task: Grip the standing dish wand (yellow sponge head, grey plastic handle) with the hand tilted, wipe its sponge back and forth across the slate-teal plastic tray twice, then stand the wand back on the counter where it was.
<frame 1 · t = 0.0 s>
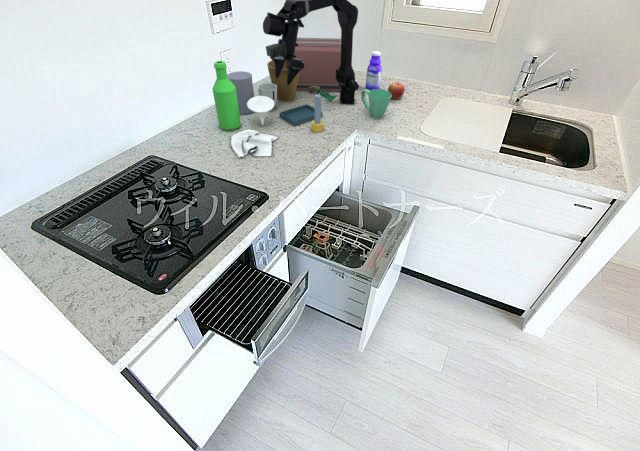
hand: (282, 81, 136), 15 cm above the worktop, tool pointing down, fingers open, 9 cm apart
toaster: (317, 85, 178), on the worktop
cloth: (252, 145, 128), on the worktop
apple: (394, 98, 166), on the worktop
bottle: (230, 127, 140), on the worktop
bottle 2: (372, 89, 175), on the worktop
green spatula: (323, 98, 164), on the worktop
cup: (269, 109, 154), on the worktop
tray: (300, 116, 148), on the worktop
container: (244, 110, 152), on the worktop
dish wand: (317, 129, 139), on the worktop
mug: (372, 114, 151), on the worktop
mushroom: (262, 125, 141), on the worktop
plant pot: (285, 98, 163), on the worktop
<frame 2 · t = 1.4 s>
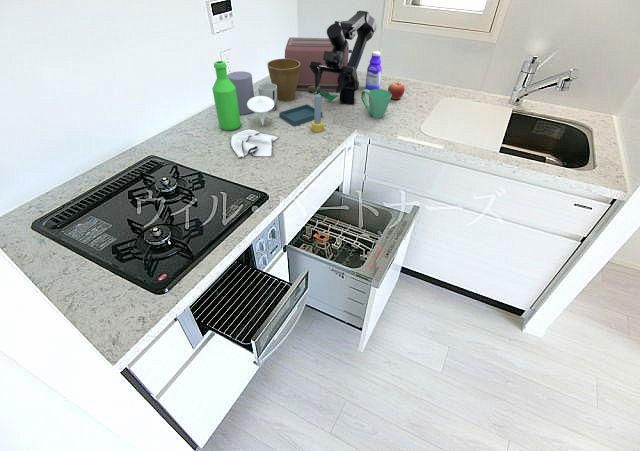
hand: (326, 90, 135), 13 cm above the worktop, tool tilted 45°, fingers open, 9 cm apart
nothing on the worktop moved.
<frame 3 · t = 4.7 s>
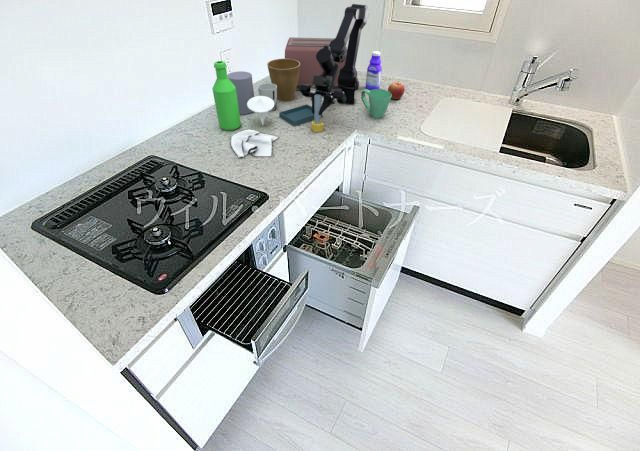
hand: (316, 114, 133), 7 cm above the worktop, tool tilted 45°, fingers closed on dish wand, 2 cm apart
dish wand: (317, 129, 139), on the worktop, touching gripper
everything else where it was.
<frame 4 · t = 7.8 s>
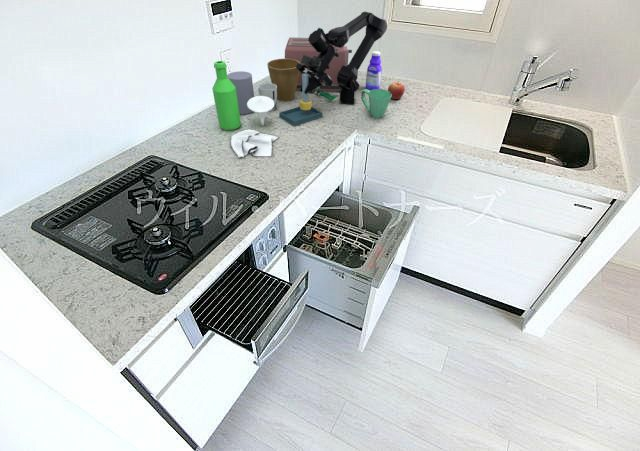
hand: (302, 92, 141), 10 cm above the worktop, tool tilted 45°, fingers closed on dish wand, 2 cm apart
dish wand: (305, 107, 147), point 3 cm above the worktop, touching gripper
everything else where it was.
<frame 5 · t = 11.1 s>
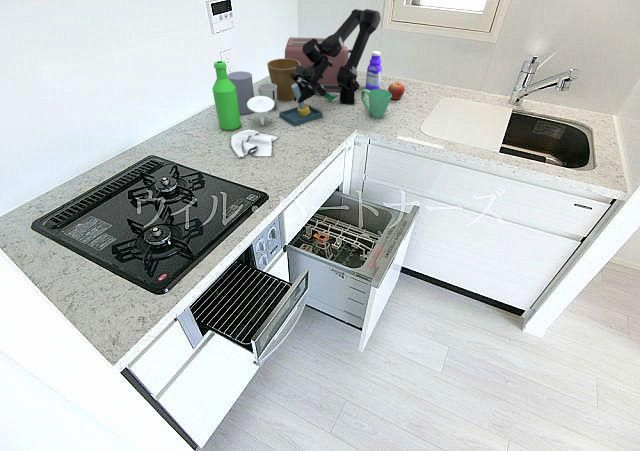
hand: (296, 101, 141), 8 cm above the worktop, tool tilted 45°, fingers closed on dish wand, 2 cm apart
dish wand: (304, 112, 147), point 2 cm above the worktop, tilted 23°, touching gripper
everything else where it was.
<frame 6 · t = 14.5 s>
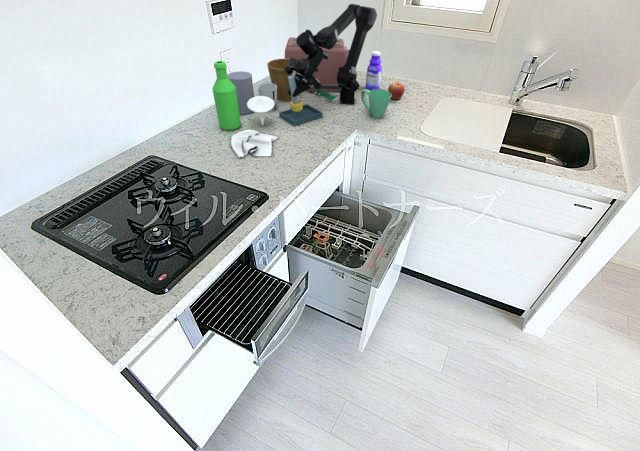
hand: (290, 95, 137), 11 cm above the worktop, tool tilted 45°, fingers closed on dish wand, 2 cm apart
dish wand: (297, 108, 143), point 5 cm above the worktop, tilted 12°, touching gripper
everything else where it was.
when the fingers open (7 cm above the worktop, at t = 17.7 s): dish wand stays where it is, on the worktop.
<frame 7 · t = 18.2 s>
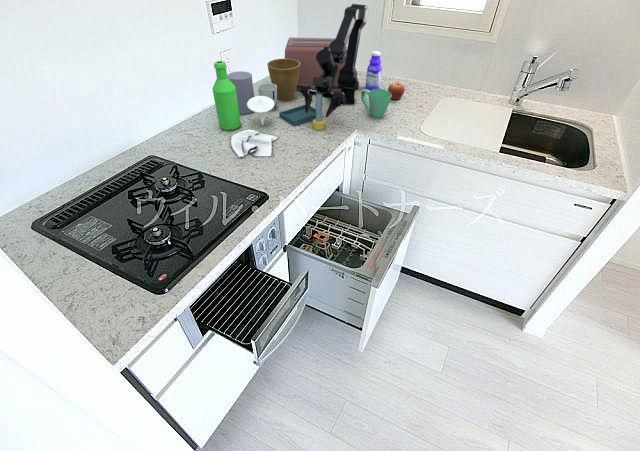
hand: (316, 115, 133), 7 cm above the worktop, tool tilted 45°, fingers open, 8 cm apart
dish wand: (318, 127, 140), on the worktop
everything else where it was.
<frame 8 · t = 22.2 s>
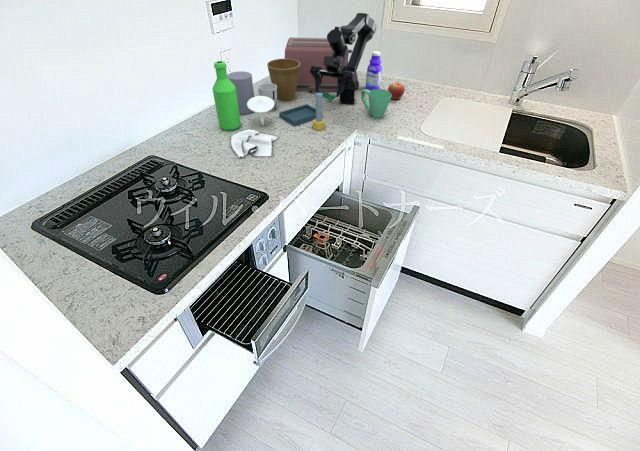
hand: (326, 94, 137), 12 cm above the worktop, tool tilted 45°, fingers open, 9 cm apart
nothing on the worktop moved.
at the end: dish wand tilted 0°; dish wand inside the target area (1.8 cm from its centre), on the worktop; toaster moved 0.2 cm from its start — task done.
